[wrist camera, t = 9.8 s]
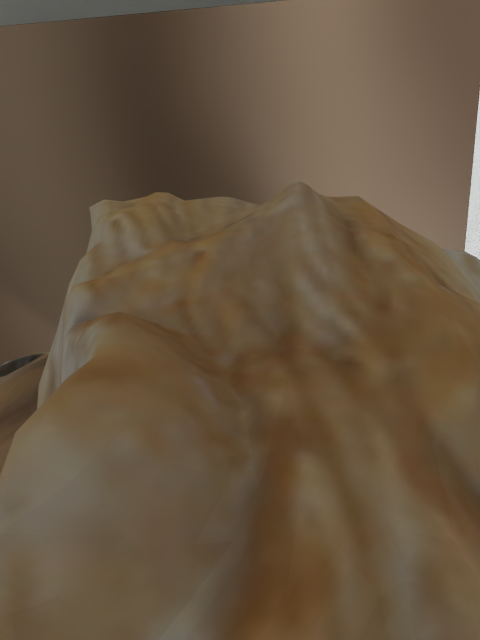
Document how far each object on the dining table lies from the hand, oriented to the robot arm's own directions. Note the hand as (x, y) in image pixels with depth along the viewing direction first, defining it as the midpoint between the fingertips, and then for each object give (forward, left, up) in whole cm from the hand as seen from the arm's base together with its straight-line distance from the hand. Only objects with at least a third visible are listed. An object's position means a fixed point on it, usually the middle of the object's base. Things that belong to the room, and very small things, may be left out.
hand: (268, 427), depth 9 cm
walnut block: (0, 0, -8) cm, 8 cm away
